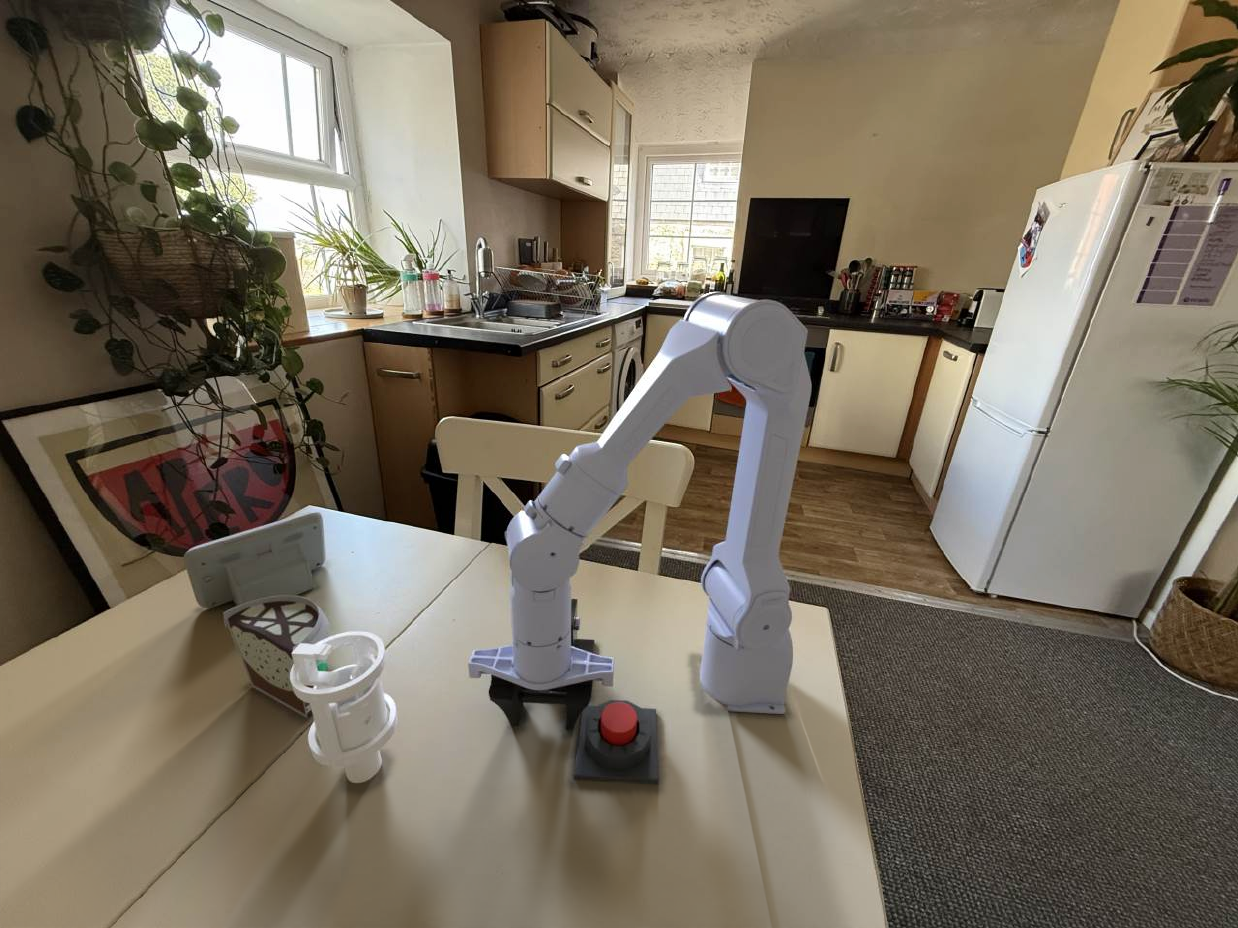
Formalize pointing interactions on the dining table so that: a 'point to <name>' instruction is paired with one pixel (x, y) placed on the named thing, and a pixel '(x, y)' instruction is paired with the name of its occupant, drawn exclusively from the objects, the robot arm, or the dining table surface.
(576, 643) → the switch bracket
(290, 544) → the digital clock
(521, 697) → the switch
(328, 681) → the white plastic cylinder
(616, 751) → the control block
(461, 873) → the dining table surface
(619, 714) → the button
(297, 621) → the chocolate cake slice
